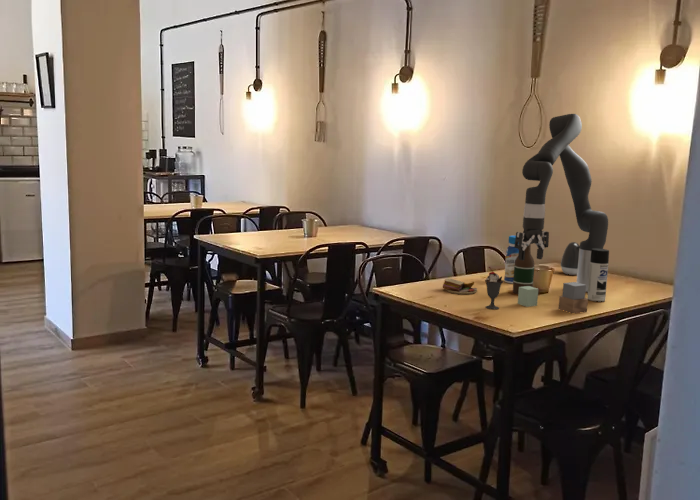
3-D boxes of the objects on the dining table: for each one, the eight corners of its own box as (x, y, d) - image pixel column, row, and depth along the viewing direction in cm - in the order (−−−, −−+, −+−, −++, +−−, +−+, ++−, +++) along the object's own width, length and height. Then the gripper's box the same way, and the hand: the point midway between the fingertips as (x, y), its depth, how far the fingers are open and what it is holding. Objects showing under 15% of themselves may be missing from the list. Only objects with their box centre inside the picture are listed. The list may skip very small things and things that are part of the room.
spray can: (596, 302, 260) (601, 251, 257) (583, 298, 266) (587, 248, 263) (608, 301, 263) (613, 250, 260) (595, 297, 269) (599, 247, 266)
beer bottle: (532, 295, 268) (537, 235, 264) (512, 294, 270) (517, 234, 266) (531, 291, 276) (536, 233, 272) (512, 290, 277) (516, 232, 273)
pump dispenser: (570, 276, 310) (573, 244, 307) (555, 272, 319) (557, 240, 317) (587, 275, 314) (590, 243, 312) (571, 271, 323) (574, 240, 321)
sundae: (480, 305, 249) (483, 265, 247) (498, 305, 250) (501, 265, 247) (485, 310, 243) (488, 268, 240) (503, 310, 243) (506, 269, 241)
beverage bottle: (526, 281, 295) (529, 236, 292) (519, 285, 288) (523, 238, 285) (507, 279, 300) (510, 234, 296) (500, 282, 293) (504, 236, 289)
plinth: (572, 307, 251) (573, 294, 250) (586, 312, 245) (588, 298, 244) (558, 309, 248) (559, 296, 247) (572, 314, 242) (573, 300, 241)
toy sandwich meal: (469, 297, 264) (470, 285, 263) (437, 292, 271) (438, 280, 270) (481, 291, 274) (482, 280, 273) (450, 287, 281) (451, 275, 280)
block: (527, 302, 256) (529, 286, 255) (537, 305, 252) (538, 288, 251) (517, 303, 254) (518, 286, 253) (526, 306, 250) (528, 289, 249)
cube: (573, 295, 249) (574, 282, 248) (584, 298, 244) (586, 285, 244) (562, 296, 247) (563, 283, 246) (573, 299, 242) (574, 286, 241)
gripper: (541, 214, 254) (537, 257, 257) (512, 215, 248) (508, 258, 250) (555, 216, 248) (552, 260, 250) (526, 217, 241) (522, 262, 244)
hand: (530, 259), depth 250 cm, fingers open, 8 cm apart
